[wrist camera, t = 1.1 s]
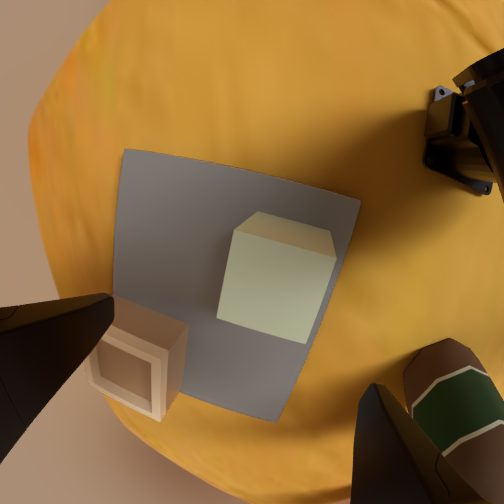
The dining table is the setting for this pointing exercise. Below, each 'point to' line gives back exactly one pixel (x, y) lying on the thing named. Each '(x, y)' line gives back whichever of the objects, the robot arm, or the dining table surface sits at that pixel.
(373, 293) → the dining table surface
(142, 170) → the board
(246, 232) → the green block
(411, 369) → the beer bottle
